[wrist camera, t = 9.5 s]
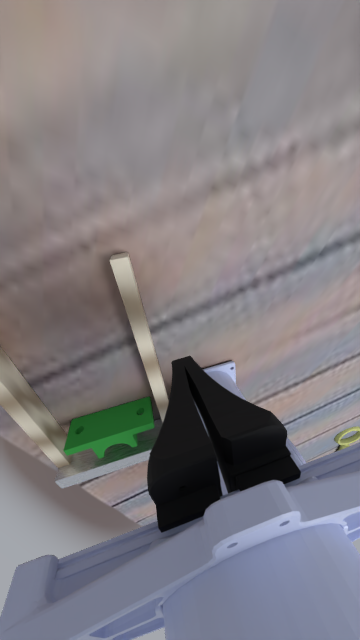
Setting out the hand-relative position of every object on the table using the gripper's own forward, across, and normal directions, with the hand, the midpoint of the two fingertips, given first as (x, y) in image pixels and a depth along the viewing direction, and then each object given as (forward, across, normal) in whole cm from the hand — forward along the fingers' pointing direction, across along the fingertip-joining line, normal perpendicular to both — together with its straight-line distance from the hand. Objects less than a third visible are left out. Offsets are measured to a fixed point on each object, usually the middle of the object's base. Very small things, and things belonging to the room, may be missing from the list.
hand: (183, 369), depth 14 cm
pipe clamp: (+10, +10, +13) cm, 19 cm away
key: (+10, -35, +47) cm, 59 cm away
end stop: (+9, +10, +18) cm, 23 cm away
